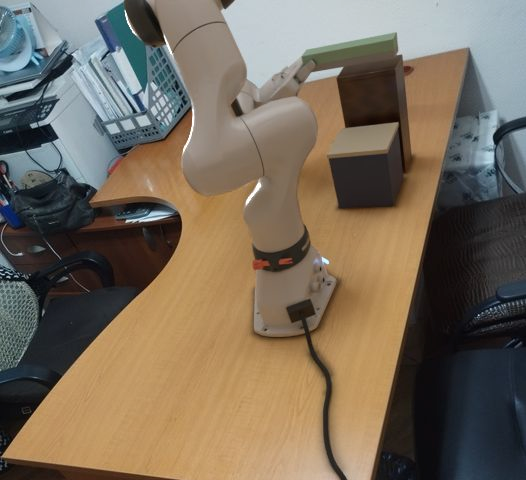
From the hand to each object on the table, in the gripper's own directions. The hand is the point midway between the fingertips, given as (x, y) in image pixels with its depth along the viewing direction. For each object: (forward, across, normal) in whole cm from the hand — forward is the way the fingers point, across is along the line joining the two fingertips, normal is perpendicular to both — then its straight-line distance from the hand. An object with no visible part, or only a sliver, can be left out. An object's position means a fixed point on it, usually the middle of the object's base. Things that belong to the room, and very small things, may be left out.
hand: (317, 57), depth 123 cm
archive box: (-4, -13, +32) cm, 35 cm away
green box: (+6, 0, +6) cm, 8 cm away
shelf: (-4, 0, +32) cm, 32 cm away
